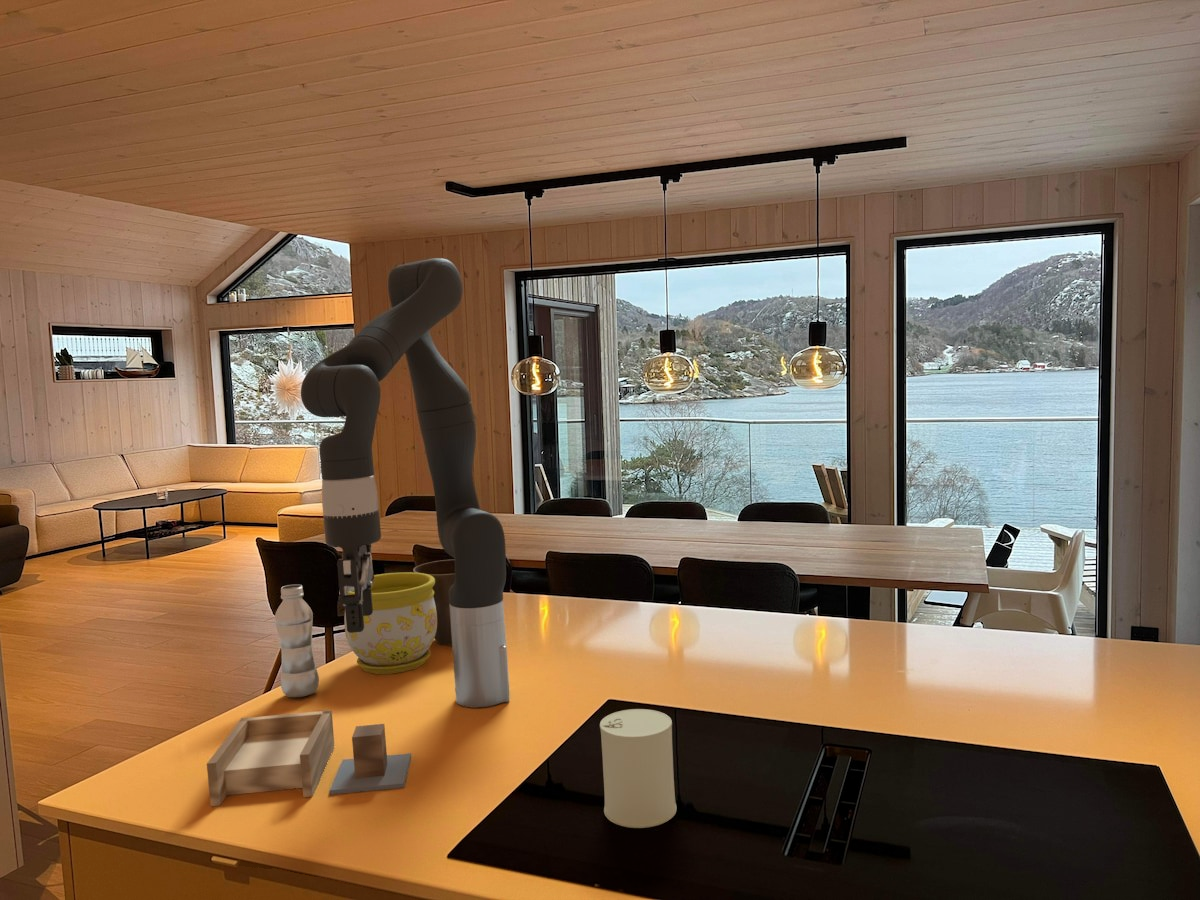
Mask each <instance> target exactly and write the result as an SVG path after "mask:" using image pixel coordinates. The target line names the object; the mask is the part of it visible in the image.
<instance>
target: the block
mask: <svg viewBox="0 0 1200 900" xmlns="http://www.w3.org/2000/svg"><path fill="white" fill-rule="evenodd" d="M351 741H352V742H351V743H352V755H353V756H352V757H353V759H354V769H355V779H357V778H367V777H377V776H384V775H385V771H386V767H387V755H388V754H387V740H386V728H385V723H379V724H378V723H377V724H369V725H368V724H367V725H359V726H358V725H357V726H355V729H354V731H353V733H352V736H351Z"/></svg>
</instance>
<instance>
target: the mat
mask: <svg viewBox="0 0 1200 900" xmlns="http://www.w3.org/2000/svg"><path fill="white" fill-rule="evenodd" d="M411 760H412V752H410V753H409V752H408V753H399V754H391V755H390V754H389V755H388V754H387V767H386V771H385V775H384V776H377V777H367V778H357V779H355V769H354V758H346V759H342V760H341V762H340V765H339V767H338V768H337V772H336V775H335V777H334V779H333V782H332V784H331V786H330V788H329V795H341V794H351V793H352V794H353V793H359V792H360V793H361V791H362V792H371V791H381V790H392V789H403V788H405V785H406V780H407V778H408V777H407V776H408V774H409V769H410V765H411V762H412V761H411Z"/></svg>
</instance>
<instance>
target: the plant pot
mask: <svg viewBox="0 0 1200 900" xmlns="http://www.w3.org/2000/svg"><path fill="white" fill-rule="evenodd" d="M413 573H423V574H428V575H431V576H433V577H434V579H435V585H434V586H433V587H432V588H433V591H434V595H433V596H434V601H435V605H436V612H437V630H436V634H435V637H434V641H435V643H437V644H439V645H443V646H452V635H451V621H450V606H449V588H450V587H451V586H452V585H453V584H454V582H455V559H453V558H452V559H443V560H435V561H431V562H426V563H422V564H419V565H417V566H414V568H413Z"/></svg>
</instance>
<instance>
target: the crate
mask: <svg viewBox="0 0 1200 900" xmlns="http://www.w3.org/2000/svg"><path fill="white" fill-rule="evenodd" d="M333 725H334V724H333V712H332V710H323V711H322V710H320V711H309V712H308V711H307V712H298V713H287V714H275V715H266V716H265V715H262V716H252V717H243V718H242V717H241V718H240V719H239V721H238V722H237V724H236V725H235V726H234V727H233V729H232V730H231V732H230V733H229V734H228V735H227V737H226V738H225V739H224V740H223V742H222V743H221V744H220V745H219V747H218V749H217V750H216V751H215V753H213V755H212V756H211V757H210V759H209V760H208V761H207V763H206V770H207V771H206V772H207V781H208V782H207V783H208V791H209V801H210V807H220V806H221V804H222V803H223V801H224V800H225V799H226V797H227V796H231V795H233V796H234V795H241V794H243V795H244V794H253V793H263V792H272V791H273V792H274V791H282V790H284V789H285V790H293V789H294V788H296V789H302V794H303V795H302V797H303V798H312V797H314V794H315V792H316V790H317V788H318V786H319V783H320V781H321V779H320V778H322V777H323V775H322V774H324V773H323V772H325V770H326V768H327V766H328V764H327V762H328V760H329V761H330V759H331V757H332V755H331V753H332V751H333V749H334V750H335V748H334V746H335V738H334V737H335V735H334V726H333ZM333 752H334V751H333ZM332 754H333V753H332ZM330 756H331V757H330ZM329 758H330V759H329ZM328 763H329V762H328ZM326 765H327V766H326ZM325 767H326V768H325ZM324 769H325V770H324ZM321 776H322V777H321ZM317 785H318V786H317ZM294 790H295V789H294Z"/></svg>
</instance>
